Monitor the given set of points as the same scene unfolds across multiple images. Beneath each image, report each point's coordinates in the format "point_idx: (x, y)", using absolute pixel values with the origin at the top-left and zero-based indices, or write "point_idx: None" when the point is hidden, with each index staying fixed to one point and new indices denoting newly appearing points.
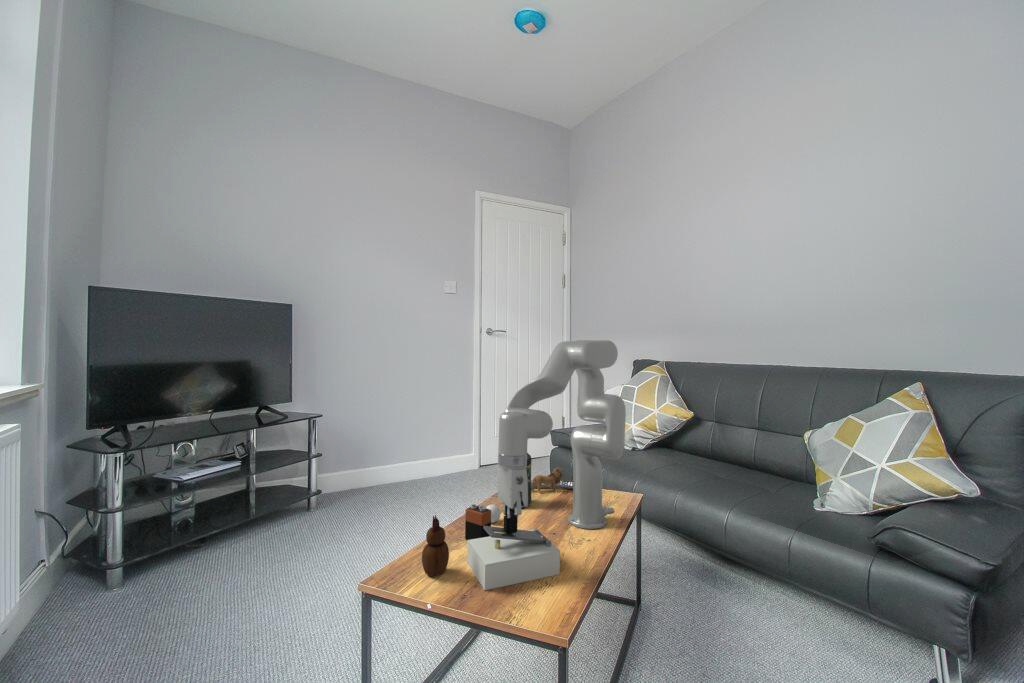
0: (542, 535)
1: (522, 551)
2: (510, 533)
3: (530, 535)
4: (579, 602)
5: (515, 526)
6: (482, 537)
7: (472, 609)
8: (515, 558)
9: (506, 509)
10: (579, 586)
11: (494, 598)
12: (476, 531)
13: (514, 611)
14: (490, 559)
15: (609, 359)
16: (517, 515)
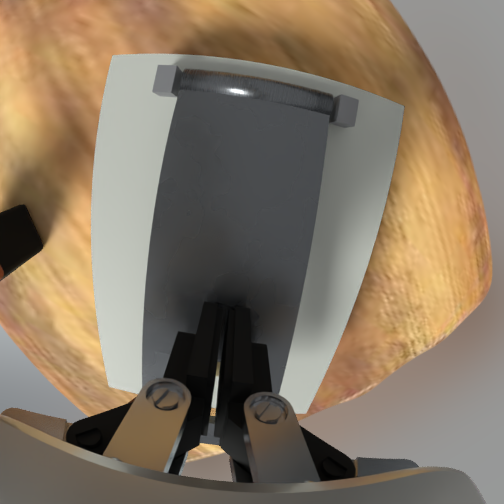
0: (266, 90)
1: (313, 272)
2: None
3: (253, 181)
4: (473, 186)
5: (266, 356)
6: (29, 255)
7: (336, 396)
8: (341, 327)
9: (179, 473)
10: (435, 123)
11: (337, 354)
12: (9, 273)
13: (402, 335)
14: (287, 395)
15: None
16: (291, 419)
